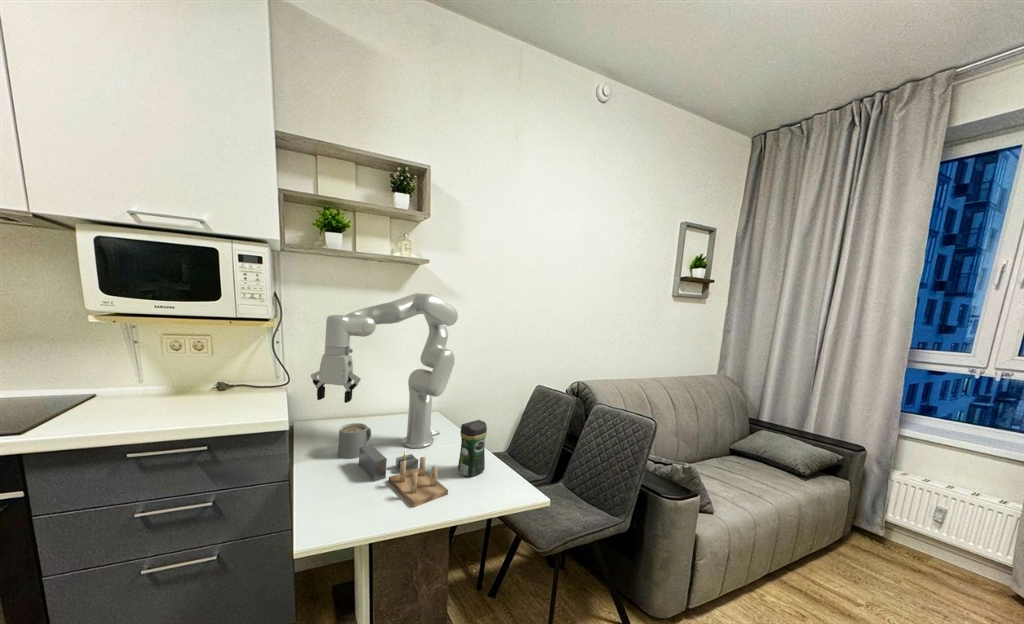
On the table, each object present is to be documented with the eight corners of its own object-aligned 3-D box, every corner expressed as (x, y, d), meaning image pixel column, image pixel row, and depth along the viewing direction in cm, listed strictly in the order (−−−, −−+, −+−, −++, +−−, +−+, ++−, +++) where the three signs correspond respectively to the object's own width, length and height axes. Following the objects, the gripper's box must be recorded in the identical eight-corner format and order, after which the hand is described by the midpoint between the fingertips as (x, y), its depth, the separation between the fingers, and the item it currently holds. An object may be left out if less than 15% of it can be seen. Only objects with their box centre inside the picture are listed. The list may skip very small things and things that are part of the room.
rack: (420, 471, 126) (422, 451, 126) (447, 494, 113) (449, 471, 113) (388, 481, 118) (389, 459, 118) (413, 507, 105) (415, 482, 105)
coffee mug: (345, 461, 130) (347, 434, 129) (332, 452, 135) (334, 427, 135) (378, 450, 140) (380, 426, 140) (365, 443, 146) (366, 419, 146)
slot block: (410, 463, 132) (411, 447, 132) (417, 468, 128) (418, 452, 128) (395, 467, 128) (396, 451, 128) (402, 473, 124) (403, 456, 124)
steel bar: (369, 462, 130) (370, 444, 130) (385, 478, 120) (386, 458, 120) (358, 465, 127) (359, 446, 127) (373, 482, 117) (375, 461, 117)
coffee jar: (473, 463, 135) (476, 416, 135) (487, 471, 130) (491, 422, 129) (453, 471, 128) (457, 421, 128) (467, 480, 123) (471, 428, 122)
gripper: (366, 351, 123) (363, 399, 124) (319, 347, 124) (317, 395, 125) (355, 355, 115) (352, 406, 116) (305, 350, 117) (303, 401, 117)
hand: (334, 400), depth 121 cm, fingers open, 9 cm apart
